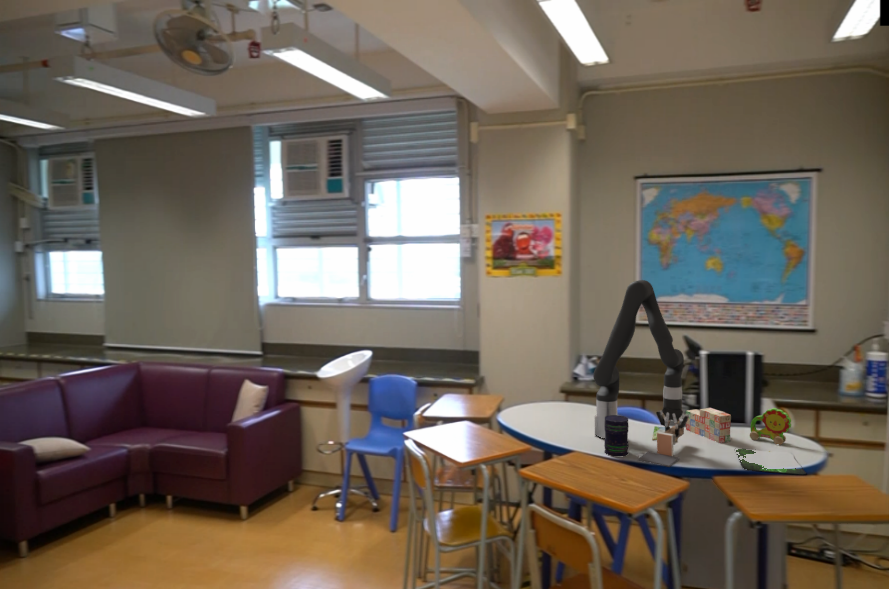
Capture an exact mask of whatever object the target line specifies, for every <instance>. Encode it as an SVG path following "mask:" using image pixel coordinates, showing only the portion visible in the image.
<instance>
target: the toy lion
mask: <svg viewBox="0 0 889 589" xmlns="http://www.w3.org/2000/svg"><path fill="white" fill-rule="evenodd" d="M758 421H761V422H762V423H763V424H764V427H763V428H761V429H758V428H756V427H757V426H756V423H757V422H758ZM790 428H792V419H791V417H790V416H789V414H788V413H787V412H784V410H782V409H778V408H776V407H773V408H771V409H770V408H769V409H767V410H766V411H765V412H763V413H762V415H757V416H755V417H754V418H753V419H752V420H751V422H750V433H749V438H750V440H753V441H757V440H758V439H760V438H767V439H769V440H772V441H773V443H774V444H775V445H776V444H779V445H778V446H781V445H783V444H784V443H786V440H787V437H786V436H785V433H787V432H788V431H789V430H790Z"/></svg>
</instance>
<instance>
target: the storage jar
mask: <svg viewBox="0 0 889 589" xmlns="http://www.w3.org/2000/svg"><path fill="white" fill-rule="evenodd" d="M604 427H605V428H604V429H605V439H604V445H603V446H604V454H605V453H606V455H607V454H608V455H607V456H609V455H611V456H610V457H614V456H623V457H626V455H627V456H628V455H629V446H630V445H629V438H628V437H629V434H628V433H629V418H628V417H626V416H624V415H618V414H617V415H609V416H606V417H605V423H604Z"/></svg>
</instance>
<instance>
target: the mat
mask: <svg viewBox="0 0 889 589" xmlns="http://www.w3.org/2000/svg"><path fill="white" fill-rule="evenodd" d="M677 460H678V461H680V457H677V456H674V455H673V456H668V455H664V454H659V453H657V452H653V451H646V452H645V453H643V454H642V455H640V456H639V457H637V461H640V462H644V461H645V463H649V462H651V463H650V464H653V463H654V464H655V465H659V466H662V467H668V468H670V467H671V466H672V465H674V464H675V463H676V462H678V461H677Z"/></svg>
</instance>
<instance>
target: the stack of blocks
mask: <svg viewBox="0 0 889 589" xmlns="http://www.w3.org/2000/svg"><path fill="white" fill-rule="evenodd" d="M685 415H689V418H688V420H687V422H686V424H685V430H686V431H689V432H691V433H693V434H696V435H698V436H701V437H703V436H704V438H705V439H708V440H710V439H711V441H713V442H715V441H716V443H718V444H721V442H722V443H728V442H727V441H729V442H731V423H732V422H731V420H732V416H731V414H729V413H727V412H725V411H722V410H718V409H715V408H712V407H707V408H699V409H690V410H689V409H688V410H685Z"/></svg>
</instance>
